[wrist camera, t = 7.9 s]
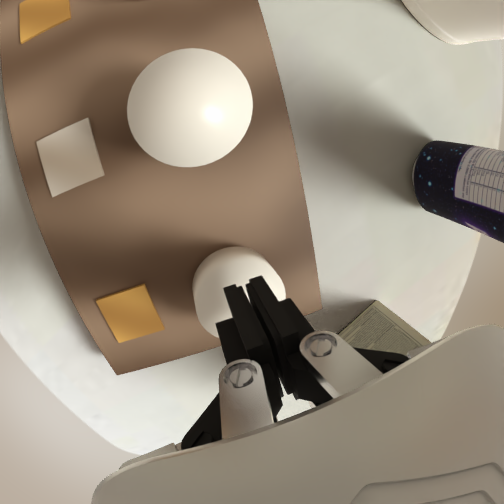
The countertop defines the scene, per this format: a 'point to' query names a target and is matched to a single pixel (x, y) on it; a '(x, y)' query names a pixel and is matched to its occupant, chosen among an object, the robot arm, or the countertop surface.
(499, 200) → the beverage can
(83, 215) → the button board
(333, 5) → the countertop surface
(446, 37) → the jar
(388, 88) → the countertop surface
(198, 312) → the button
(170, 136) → the button middle
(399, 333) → the skincare box
